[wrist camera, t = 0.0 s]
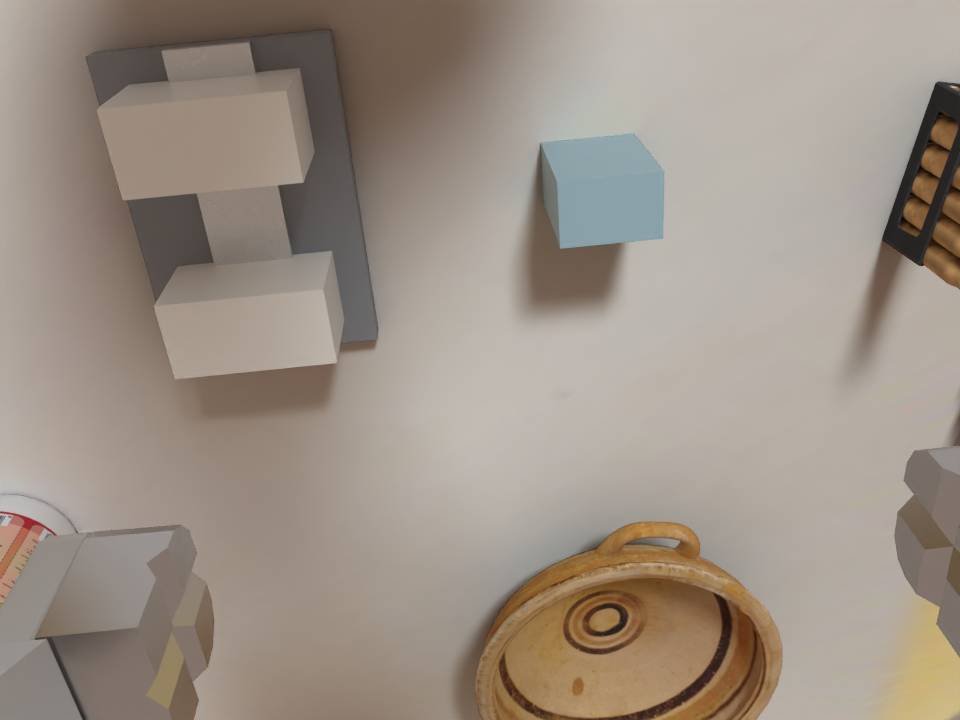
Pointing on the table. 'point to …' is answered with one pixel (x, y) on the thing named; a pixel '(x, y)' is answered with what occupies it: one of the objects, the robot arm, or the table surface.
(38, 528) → the fruit juice
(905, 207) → the ammunition clip
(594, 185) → the block
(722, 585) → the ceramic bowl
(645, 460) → the table surface
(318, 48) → the board
